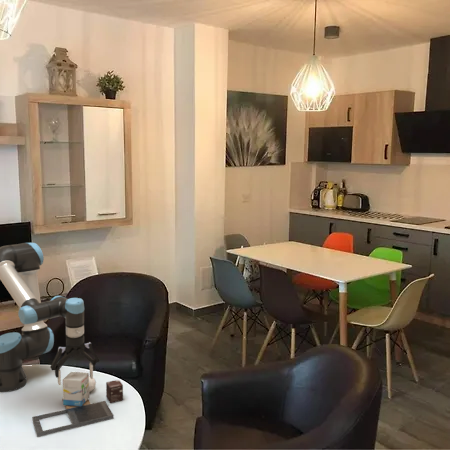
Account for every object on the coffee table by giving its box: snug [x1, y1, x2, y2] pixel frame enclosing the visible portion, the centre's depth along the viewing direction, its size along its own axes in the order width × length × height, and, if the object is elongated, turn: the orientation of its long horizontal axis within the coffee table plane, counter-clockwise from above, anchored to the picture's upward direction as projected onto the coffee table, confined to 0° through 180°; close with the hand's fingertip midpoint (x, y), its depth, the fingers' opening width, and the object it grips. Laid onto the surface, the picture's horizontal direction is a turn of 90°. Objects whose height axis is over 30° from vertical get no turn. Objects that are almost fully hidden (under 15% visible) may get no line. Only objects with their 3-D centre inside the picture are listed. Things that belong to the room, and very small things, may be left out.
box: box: [105, 379, 124, 404], centre depth 224 cm, size 6×6×7 cm
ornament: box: [89, 375, 97, 393], centre depth 230 cm, size 7×7×8 cm
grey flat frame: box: [31, 400, 115, 438], centre depth 207 cm, size 30×13×2 cm, turn 119°
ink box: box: [62, 371, 90, 406], centre depth 218 cm, size 9×8×12 cm
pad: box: [62, 398, 92, 410], centre depth 220 cm, size 10×10×1 cm
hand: (75, 380), depth 218 cm, fingers open, 13 cm apart
